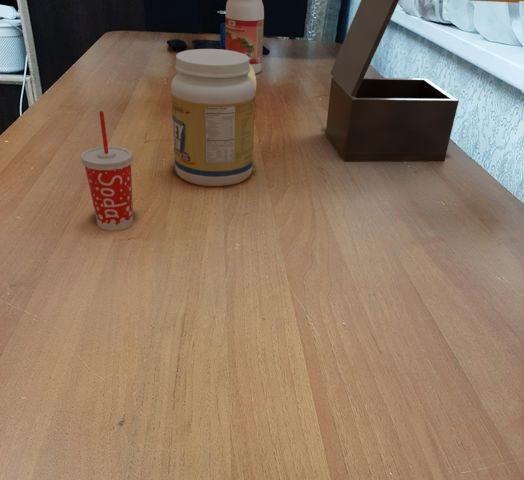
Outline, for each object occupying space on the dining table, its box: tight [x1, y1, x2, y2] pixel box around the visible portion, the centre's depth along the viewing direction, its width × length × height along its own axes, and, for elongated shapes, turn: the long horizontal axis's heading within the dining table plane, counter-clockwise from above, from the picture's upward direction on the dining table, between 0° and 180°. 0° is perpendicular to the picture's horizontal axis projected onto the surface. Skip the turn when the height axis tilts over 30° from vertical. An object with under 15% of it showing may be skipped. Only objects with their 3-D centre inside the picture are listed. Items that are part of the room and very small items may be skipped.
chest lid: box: [329, 0, 400, 97], centre depth 91 cm, size 18×15×5 cm
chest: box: [325, 76, 460, 162], centre depth 101 cm, size 18×15×10 cm
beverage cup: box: [80, 110, 134, 232], centre depth 70 cm, size 6×6×14 cm
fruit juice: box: [225, 0, 265, 75], centre depth 139 cm, size 9×9×28 cm
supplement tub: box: [170, 48, 256, 187], centre depth 85 cm, size 12×12×17 cm
